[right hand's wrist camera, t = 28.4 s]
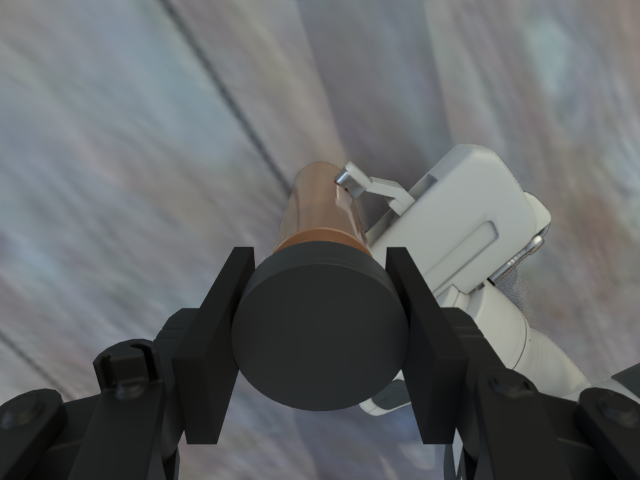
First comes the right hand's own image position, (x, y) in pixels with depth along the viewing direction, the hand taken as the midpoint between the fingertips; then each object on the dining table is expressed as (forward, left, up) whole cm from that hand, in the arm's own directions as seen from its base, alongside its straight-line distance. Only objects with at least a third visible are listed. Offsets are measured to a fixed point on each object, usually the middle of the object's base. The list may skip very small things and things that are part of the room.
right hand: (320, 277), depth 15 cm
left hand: (0, -1, -10) cm, 10 cm away
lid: (0, 0, +4) cm, 4 cm away
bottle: (0, 0, -17) cm, 17 cm away
